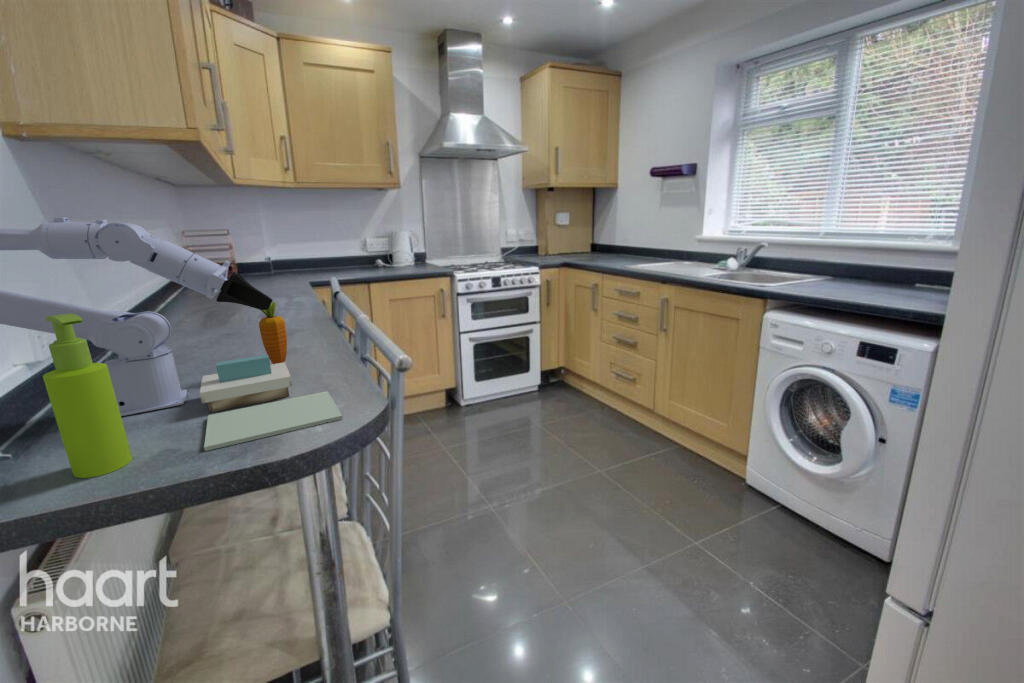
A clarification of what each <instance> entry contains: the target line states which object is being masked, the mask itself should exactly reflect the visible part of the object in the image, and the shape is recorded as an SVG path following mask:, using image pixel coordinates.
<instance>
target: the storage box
mask: <svg viewBox="0 0 1024 683" xmlns="http://www.w3.org/2000/svg"><path fill="white" fill-rule="evenodd" d="M288 397H290V393H289V387H285V388H280V389H275V390H270V391H264V392H259V393H254V394H249V395H244V396H238V397H233V398H228V399H223V400H217V401H212V402H207V406H208V411H209V413H214V412H219V411H224V410H229V409H233V408H239V407H244V406H249V405H256V404H260V403H264V402H269V401H274V400H279V399H280V400H281V399H284V398H285V399H286V398H288Z"/></svg>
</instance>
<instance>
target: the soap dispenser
mask: <svg viewBox="0 0 1024 683" xmlns="http://www.w3.org/2000/svg"><path fill="white" fill-rule="evenodd" d="M46 320H47V321H48V322H52V325H53V328H54V332H55V334H54V335H55V338H56V340H54V341H53V342H52V343H49V344H48V347H49V352H50V355H51V358H52V362H53V365H54V369H53V370H51V371H48V372H46V373H44V374H43V375H42V378H43V382H44V386H45V389H46V393H47V395H48V398H49V402H50V404H51V407H52V408H51V409H52V411H53V415H54V418H55V421H56V424H57V427H58V431H59V433H60V434H59V435H60V437H61V440H62V443H63V446H64V449H65V452H66V456H67V459H68V462H69V465H70V468H71V472H72V475H73V477H75V478H79V479H90V478H94V477H95V478H96V477H100V476H103V475H107V474H110V473H113V472H114V471H115V472H116V471H117V470H120V469H123V468H124V467H125V466H127V465H129V464H130V463H131V462H132V460H133V455H132V452H131V447H130V445H129V440H128V438H127V433H126V429H125V426H124V421H123V419H122V416H121V414H120V411H119V407H118V403H117V400H116V396H115V392H114V389H113V385H112V381H111V378H110V374H109V371H108V367H107V364H105V362H104V363H103V362H93V359H92V354H91V352H90V348H89V345H88V341H87V339H81V338H80V337H76V336H75V332H74V329H73V325H72V324H76V323H82V322H83V319H82V318H80V317H79V316H77V315H76V314H71V313H69V314H61V315H54V316H47V317H46Z"/></svg>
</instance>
